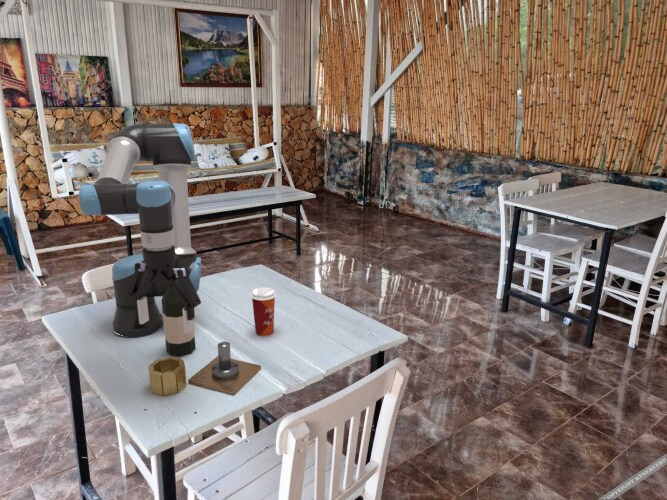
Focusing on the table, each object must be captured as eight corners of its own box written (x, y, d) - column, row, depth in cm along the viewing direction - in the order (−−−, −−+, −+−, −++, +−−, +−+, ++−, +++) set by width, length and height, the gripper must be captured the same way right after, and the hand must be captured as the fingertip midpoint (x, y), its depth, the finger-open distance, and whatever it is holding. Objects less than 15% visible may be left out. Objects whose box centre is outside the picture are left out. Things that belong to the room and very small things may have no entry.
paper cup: (272, 338, 163) (271, 297, 159) (248, 336, 165) (247, 294, 160) (279, 327, 170) (278, 287, 166) (257, 325, 172) (255, 285, 167)
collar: (143, 390, 135) (141, 370, 133) (165, 374, 143) (163, 354, 141) (171, 398, 132) (169, 377, 130) (192, 381, 140) (191, 361, 138)
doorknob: (188, 383, 139) (185, 351, 136) (218, 358, 151) (216, 328, 148) (233, 395, 134) (232, 362, 131) (261, 368, 146) (260, 338, 143)
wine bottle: (180, 359, 150) (171, 261, 141) (160, 351, 155) (150, 255, 145) (201, 348, 157) (194, 252, 148) (182, 340, 161) (173, 247, 152)
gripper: (106, 244, 127) (116, 324, 134) (193, 257, 119) (199, 341, 125) (127, 236, 134) (136, 312, 140) (211, 248, 125) (216, 328, 132)
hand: (166, 326), depth 133 cm, fingers open, 13 cm apart
